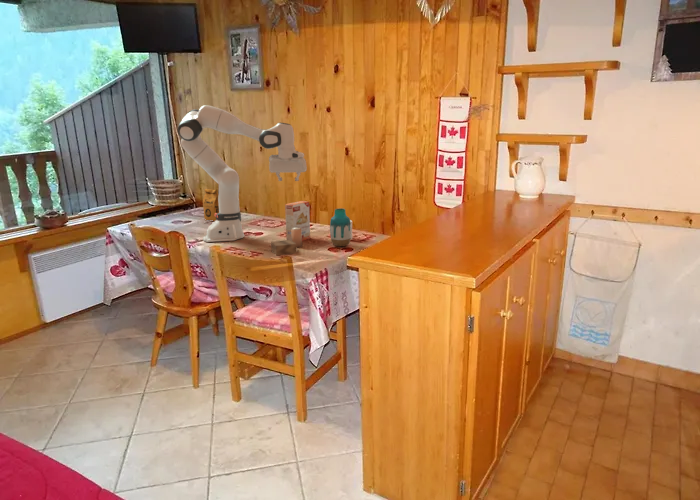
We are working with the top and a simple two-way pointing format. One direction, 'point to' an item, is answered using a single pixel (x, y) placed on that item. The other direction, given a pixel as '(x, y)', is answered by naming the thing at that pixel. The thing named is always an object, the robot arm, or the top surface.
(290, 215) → the cracker box
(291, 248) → the walnut block
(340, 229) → the vase
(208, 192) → the coffee package
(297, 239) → the canister
